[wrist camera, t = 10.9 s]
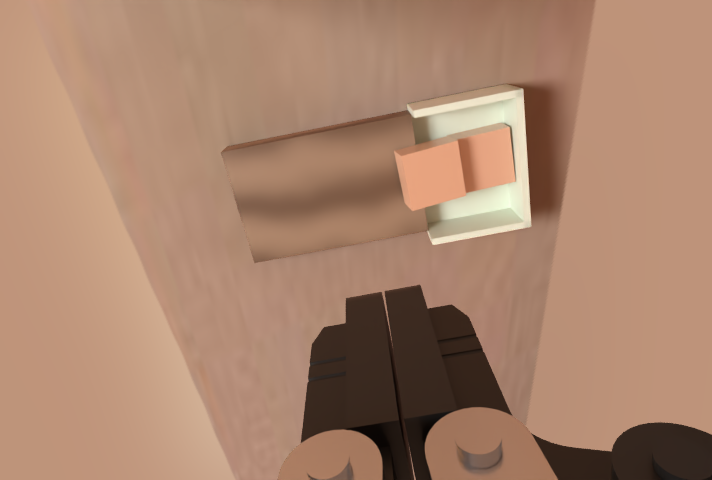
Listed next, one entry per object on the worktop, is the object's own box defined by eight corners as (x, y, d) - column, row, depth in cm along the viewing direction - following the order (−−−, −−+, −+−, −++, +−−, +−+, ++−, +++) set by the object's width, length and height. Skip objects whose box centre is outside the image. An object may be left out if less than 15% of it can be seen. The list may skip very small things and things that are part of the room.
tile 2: (446, 135, 45) (452, 140, 42) (501, 122, 44) (509, 127, 42) (455, 186, 47) (460, 194, 44) (507, 174, 46) (515, 181, 44)
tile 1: (393, 150, 43) (401, 156, 41) (447, 136, 43) (457, 140, 41) (404, 203, 45) (412, 211, 43) (455, 188, 45) (466, 195, 43)
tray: (406, 103, 44) (413, 110, 40) (506, 83, 44) (523, 88, 39) (425, 227, 49) (432, 245, 45) (515, 210, 48) (531, 226, 44)
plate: (227, 146, 45) (220, 152, 43) (407, 110, 44) (411, 114, 42) (258, 252, 50) (254, 262, 47) (424, 221, 49) (428, 230, 46)
